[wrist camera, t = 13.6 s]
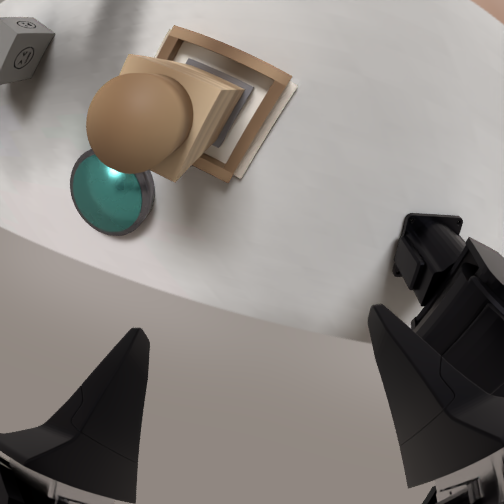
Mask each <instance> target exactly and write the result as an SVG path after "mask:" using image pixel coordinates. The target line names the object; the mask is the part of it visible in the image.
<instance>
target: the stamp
mask: <svg viewBox="0 0 504 504" xmlns="http://www.w3.org/2000/svg"><path fill="white" fill-rule="evenodd" d="M253 89H254V87H253V86H251V85H249V84H247V83H245V82H243V81H241V80H239V79H236V78H234V77H232V76H230V75H228V74H226V73H224V72H221V71H219V70H217V69H215V68H212V67H210V66H208V65H205V64H203V63H200V62H198V61H195V60H193V59H190V58H188V60H187V62H186V63H185V64H183V63H179V62H174V61H169V60H164V59H158V58H153V57H146V56H140V55H133V54H129V55H128V57H127V59H126V61H125V63H124V65H123V68H122V70H121V72H120V75H119V76H117V77H115V78H113V79H111V80H110V81H108V82H107V83H106V84H104V85H103V86H102V87H101V88H100V89H99V91H98V92H97V93H96V95H95V96H94V98H93V100H92V102H91V104H90V107H89V110H88V114H87V121H86V128H87V136H88V140H89V143H90V146H91V148H92V150H93V152H94V153H95V155H96V156H97V157H98V159H99V160H100V161H101V162H102V163H103V164H105V165H106V166H107V167H109V168H111V169H112V170H115V171H117V172H121V173H126V174H136V173H141V172H144V171H147V170H151V171H153V172H155V173H157V174H159V175H161V176H163V177H165V178H167V179H169V180H171V181H173V182H176V181H177V180H178V179H179V178H180V177H181V176H182V175H183V174H184V173H185V172H186V171H187V169H188V168H189V167H190V166H191V165H192V164H193V163H194V162H195V161H196V160H197V159H198V158H199V157H200V156H201V155H202V154H203V153H204V152H205V151H206V150H207V149H208V148H209V147H210V146H211V145H213V146H215V147H217V148H219V147H220V146H221V145H222V143H223V141H224V139H225V137H226V136H227V134H228V132H229V130H230V128H231V127H232V125H233V123H234V121H235V120H236V118H237V116H238V114H239V113H240V111H241V109H242V108H243V106H244V104H245V102H246V101H247V99H248V97H249V96H250V94H251V92H252V91H253Z"/></svg>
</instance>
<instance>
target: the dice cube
mask: <svg viewBox="0 0 504 504" xmlns="http://www.w3.org/2000/svg"><path fill="white" fill-rule="evenodd" d="M54 35H55V33H54V32H53V31H51V30H50V29H48V28H47V27H46V26H44V25H43V24H42V23H40V22H39V21H38V20H36V19H35V18H31V17H2V18H0V85H2V84H6V83H11V82H15V81H20V80H25V79H31V77H32V75H33V73H34V71H35V69H36V67H37V65H38V63H39V61H40V59H41V57H42V55H43V54H44V52H45V50H46V48H47V46H48V45H49V43H50V41H51V40H52V38H53V36H54Z"/></svg>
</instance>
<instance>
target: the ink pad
mask: <svg viewBox="0 0 504 504" xmlns="http://www.w3.org/2000/svg"><path fill="white" fill-rule="evenodd" d="M70 190H71V196H72V199H73V202H74V205H75V207H76V209H77V211H78V212H79V214H80V215H81V217H82V218H83V219H84V220H85V221H86V222H87V223H88V224H89V225H90V226H91V227H93V228H94V229H96V230H97V231H99V232H101V233H104V234H107V235H112V236H120V235H125V234H128V233H130V232H132V231H134V230H135V229H136V228H137V227H138V226H139V225H140V224H141V223H142V222H143V220H144V219H145V218H146V217H147V215H148V214H149V212H150V211H151V208H152V206H153V202H154V195H155V189H154V182H153V178H152V175H151V172H150V170H147V171H144V172H141V173H136V174H126V173H121V172H117V171H115V170H112V169H111V168H109V167H107V166H106V165H105V164H103V163H102V162H101V161H100V160H99V159H98V157H97V156H96V155H95V153H94V152H93V150H92V149H91V150H89V151H87V152H85V153H84V154H83V155H81V157H80V158H79V159H78V160H77V162H76V163H75V165H74V167H73V170H72V173H71V178H70Z"/></svg>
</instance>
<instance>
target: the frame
mask: <svg viewBox="0 0 504 504" xmlns="http://www.w3.org/2000/svg"><path fill="white" fill-rule="evenodd" d="M154 58H158V59H164V60H169V61H174V62H179V63H183V64H185V63H186V62H187V60H188V58H190V59H193V60H195V61H198V62H200V63H203V64H205V65H208V66H210V67H212V68H215V69H217V70H219V71H221V72H224V73H226V74H228V75H230V76H232V77H234V78H236V79H239V80H241V81H243V82H245V83H247V84H249V85H251V86H253V87H254V89H253V91H252V92H251V94H250V96H249V97H248V99H247V101H246V102H245V104H244V106H243V108H242V109H241V111H240V113H239V114H238V116H237V118H236V120H235V121H234V123H233V125H232V127H231V128H230V130H229V132H228V134H227V136H226V137H225V139H224V141H223V143H222V145H221V146H220V147H219V148H217V147H215V146H213V145H211V146H210V147H209V148H208V149H207V150H206V151H205V152H204V153H203V154H202V155H201V156H200V157H199V158H198V159H197V160H196V161H195V162H194V163H193V164H192V165H193V166H195V167H197V168H199V169H201V170H203V171H205V172H207V173H209V174H211V175H213V176H215V177H217V178H219V179H221V180H223V181H224V182H226V183H229V181H230V179H231V177H232V176H233V175H234V176H236V177H238V178H240V179H241V178H242V176H243V175H244V173H245V171H246V169H247V168H248V166H249V164H250V163H251V161H252V159H253V158H254V156H255V154H256V152H257V151H258V149H259V147H260V146H261V144H262V143H263V141H264V139H265V138H266V136H267V134H268V133H269V131H270V129H271V128H272V126H273V125H274V123H275V121H276V120H277V118H278V117H279V115H280V113H281V112H282V110H283V109H284V107H285V105H286V104H287V102H288V101H289V99H290V98H291V96H292V94H293V93H294V91H295V90H296V88H297V87H298V86H297V85H296V84H294V83H292V82H290V79H291V78H292V76H291V75H289V74H287V73H285V72H284V71H282V70H280V69H278V68H276V67H274V66H272V65H270V64H268V63H266V62H264V61H262V60H260V59H258V58H256V57H254V56H252V55H250V54H248V53H246V52H244V51H241V50H239V49H237V48H235V47H232V46H230V45H227V44H225V43H223V42H220V41H218V40H215V39H213V38H210V37H207V36H205V35H202V34H199V33H196V32H193V31H190V30H187V29H184V28H181V27H178V26H175V25H174V26H173V28H172V30H171V29H169V31H168V33H167V34H166V36H165V38H164V40H163V42H162V44H161V45H160V47H159V49H158V51H157V53H156V55H155V57H154Z"/></svg>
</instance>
